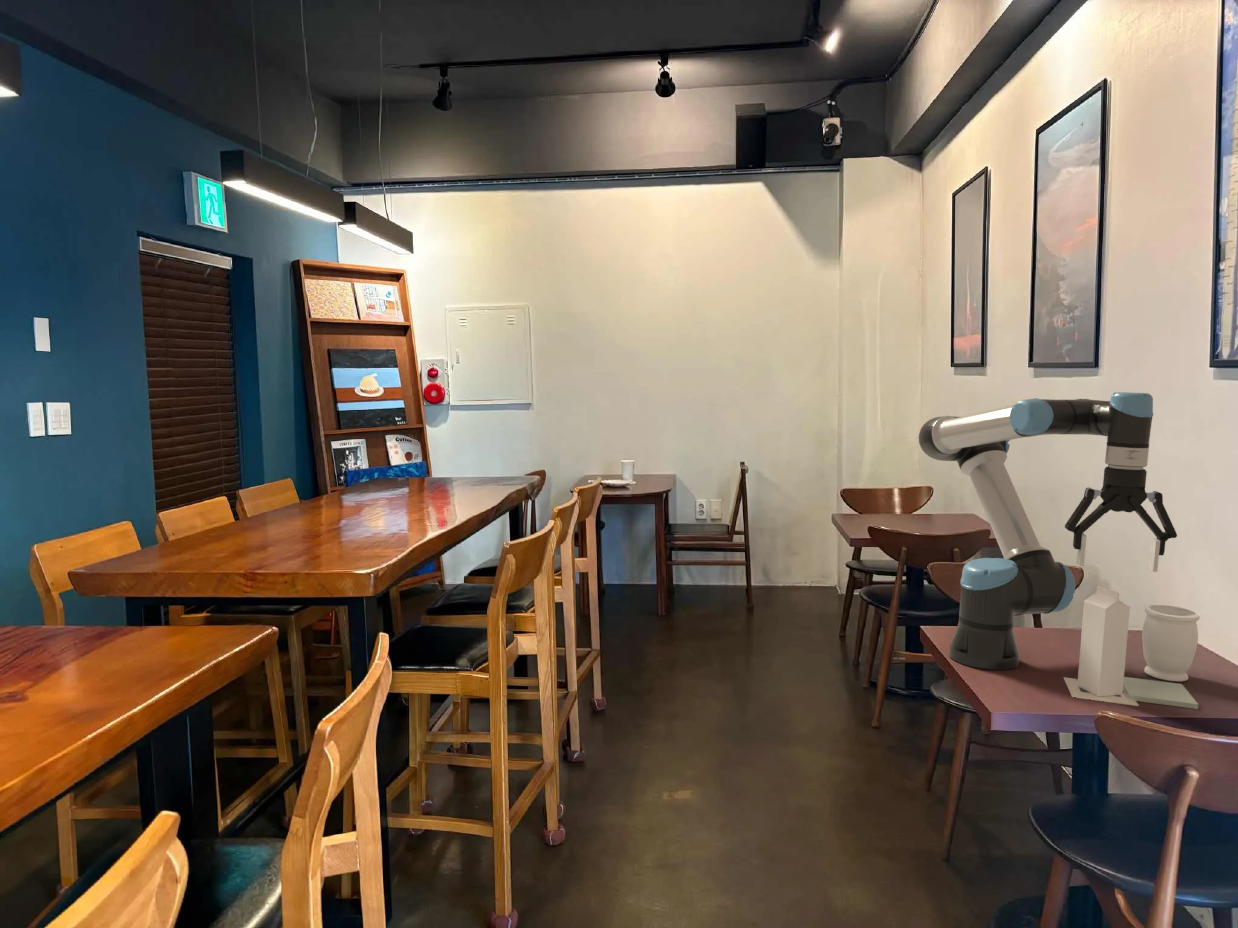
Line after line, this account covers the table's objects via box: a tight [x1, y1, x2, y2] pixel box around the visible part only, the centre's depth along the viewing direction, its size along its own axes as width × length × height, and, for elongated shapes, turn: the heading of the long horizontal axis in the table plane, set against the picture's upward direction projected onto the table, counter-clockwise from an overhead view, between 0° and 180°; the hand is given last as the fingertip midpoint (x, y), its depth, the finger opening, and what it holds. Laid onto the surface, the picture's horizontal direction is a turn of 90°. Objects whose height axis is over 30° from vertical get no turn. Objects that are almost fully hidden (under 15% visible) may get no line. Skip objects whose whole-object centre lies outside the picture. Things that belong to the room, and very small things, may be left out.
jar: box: [1141, 604, 1201, 683], centre depth 185 cm, size 11×10×15 cm
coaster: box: [1123, 676, 1199, 710], centre depth 175 cm, size 12×12×1 cm
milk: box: [1077, 585, 1131, 697], centre depth 175 cm, size 6×6×22 cm
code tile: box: [1063, 677, 1140, 707], centre depth 176 cm, size 12×12×1 cm
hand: (1116, 567), depth 174 cm, fingers open, 13 cm apart
